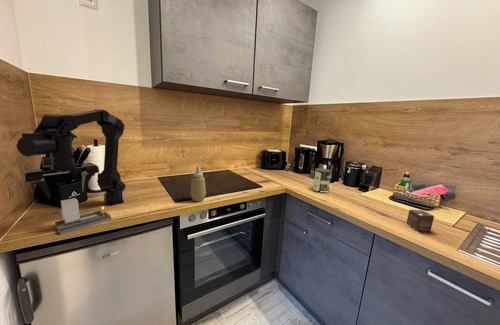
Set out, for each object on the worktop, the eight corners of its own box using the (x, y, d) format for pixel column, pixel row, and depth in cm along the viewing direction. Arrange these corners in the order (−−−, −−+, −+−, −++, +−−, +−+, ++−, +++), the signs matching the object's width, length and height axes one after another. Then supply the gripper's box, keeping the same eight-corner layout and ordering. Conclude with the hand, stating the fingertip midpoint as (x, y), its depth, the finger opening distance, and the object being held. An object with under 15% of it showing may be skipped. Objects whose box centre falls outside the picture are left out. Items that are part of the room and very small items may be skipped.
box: (418, 224, 89) (422, 209, 88) (431, 232, 83) (435, 215, 82) (405, 224, 89) (408, 209, 87) (417, 231, 83) (421, 215, 82)
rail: (103, 212, 84) (102, 202, 83) (111, 219, 79) (110, 208, 78) (54, 225, 72) (53, 213, 71) (60, 234, 67) (58, 222, 66)
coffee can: (330, 190, 132) (333, 169, 130) (326, 194, 124) (329, 172, 121) (315, 186, 138) (318, 167, 136) (310, 190, 130) (312, 169, 128)
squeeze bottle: (199, 195, 109) (200, 164, 106) (209, 199, 104) (209, 166, 101) (187, 199, 103) (186, 166, 100) (196, 204, 98) (196, 168, 95)
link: (93, 214, 79) (91, 194, 78) (97, 217, 77) (95, 197, 75) (63, 222, 72) (60, 200, 71) (66, 226, 70) (63, 204, 68)
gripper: (88, 147, 80) (92, 184, 83) (18, 150, 65) (25, 195, 68) (97, 151, 73) (101, 191, 76) (21, 155, 58) (29, 204, 61)
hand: (67, 194), depth 71 cm, fingers open, 9 cm apart
